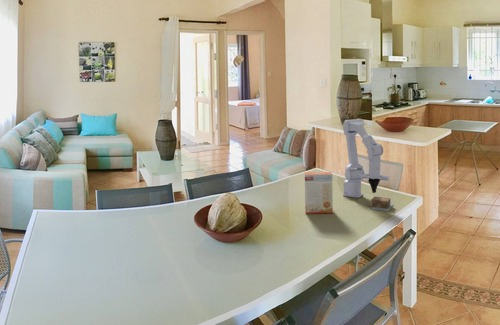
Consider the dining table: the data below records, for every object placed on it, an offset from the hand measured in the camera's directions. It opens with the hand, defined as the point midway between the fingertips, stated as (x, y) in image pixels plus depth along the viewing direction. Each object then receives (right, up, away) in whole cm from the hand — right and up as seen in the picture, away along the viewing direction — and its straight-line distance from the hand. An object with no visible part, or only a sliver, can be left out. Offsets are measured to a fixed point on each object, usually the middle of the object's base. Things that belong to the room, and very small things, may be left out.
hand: (374, 192), depth 230 cm
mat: (+4, -8, -1) cm, 9 cm away
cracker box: (-30, -10, -4) cm, 32 cm away
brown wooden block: (0, -5, +1) cm, 5 cm away
